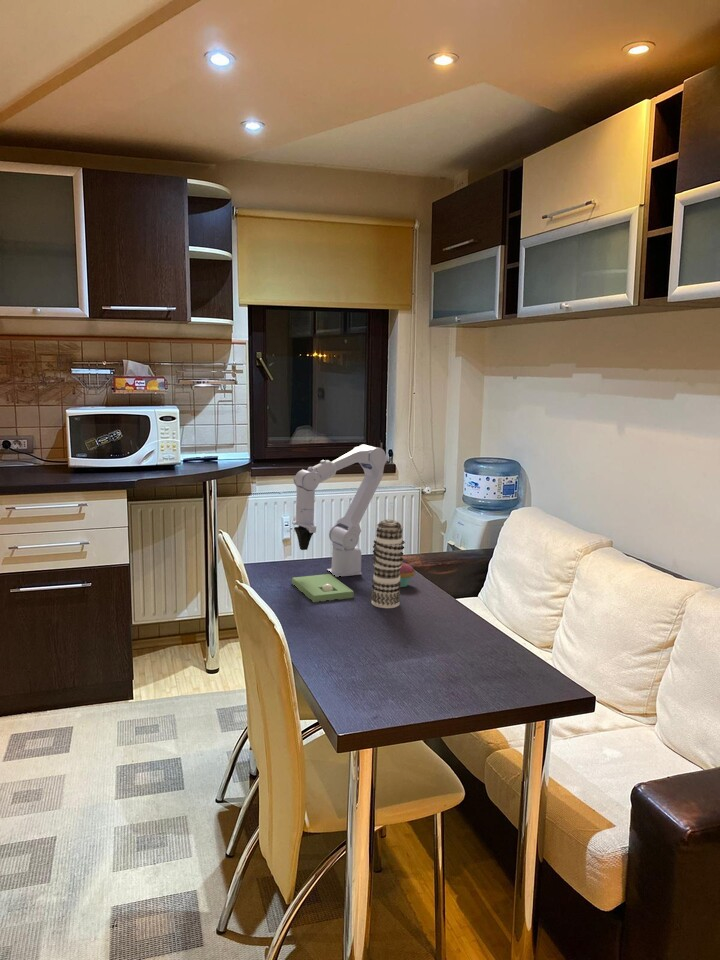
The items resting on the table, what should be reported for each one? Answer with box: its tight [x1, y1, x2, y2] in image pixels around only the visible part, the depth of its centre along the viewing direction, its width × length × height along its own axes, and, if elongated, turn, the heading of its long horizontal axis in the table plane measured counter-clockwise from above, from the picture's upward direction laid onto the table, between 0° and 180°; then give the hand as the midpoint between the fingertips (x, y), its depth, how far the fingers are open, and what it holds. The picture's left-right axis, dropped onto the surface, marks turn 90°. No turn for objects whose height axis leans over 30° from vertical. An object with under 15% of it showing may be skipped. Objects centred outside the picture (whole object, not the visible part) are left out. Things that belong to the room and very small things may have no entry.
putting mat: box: [291, 573, 354, 603], centre depth 222 cm, size 13×18×2 cm
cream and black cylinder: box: [370, 519, 406, 609], centre depth 212 cm, size 9×9×25 cm
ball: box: [322, 584, 333, 592], centre depth 218 cm, size 3×3×3 cm
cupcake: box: [400, 561, 416, 588], centre depth 231 cm, size 9×8×12 cm
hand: (303, 549), depth 231 cm, fingers closed
